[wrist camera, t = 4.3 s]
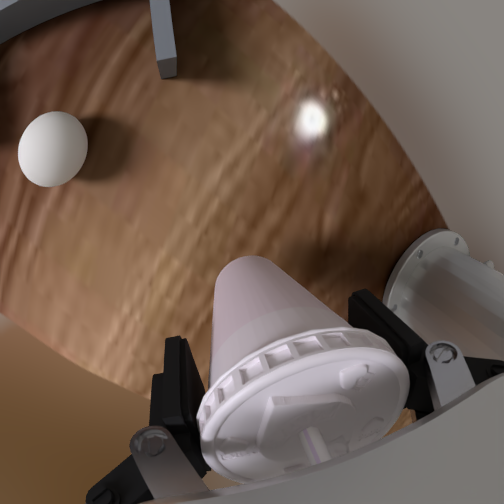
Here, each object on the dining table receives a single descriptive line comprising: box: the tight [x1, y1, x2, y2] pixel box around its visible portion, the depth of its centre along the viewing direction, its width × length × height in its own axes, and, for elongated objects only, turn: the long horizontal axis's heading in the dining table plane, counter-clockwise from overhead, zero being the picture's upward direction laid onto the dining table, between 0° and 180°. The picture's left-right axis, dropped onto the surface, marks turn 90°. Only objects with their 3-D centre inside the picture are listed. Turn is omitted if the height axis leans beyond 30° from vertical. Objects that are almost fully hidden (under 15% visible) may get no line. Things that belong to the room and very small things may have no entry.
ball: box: [18, 112, 88, 187], centre depth 14 cm, size 4×4×4 cm
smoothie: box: [196, 256, 410, 484], centre depth 10 cm, size 6×6×14 cm
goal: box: [0, 0, 177, 79], centre depth 11 cm, size 16×8×4 cm, turn 99°
